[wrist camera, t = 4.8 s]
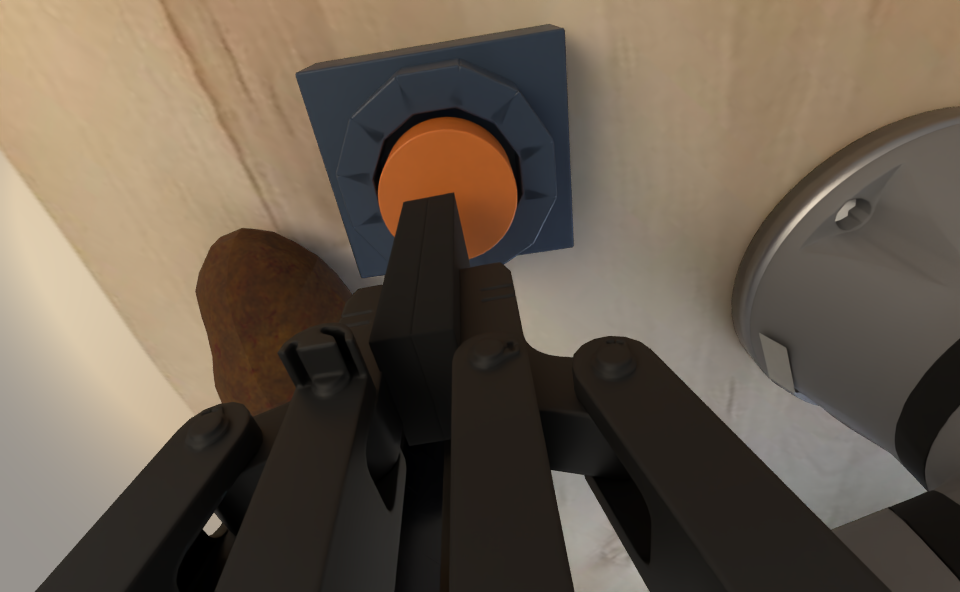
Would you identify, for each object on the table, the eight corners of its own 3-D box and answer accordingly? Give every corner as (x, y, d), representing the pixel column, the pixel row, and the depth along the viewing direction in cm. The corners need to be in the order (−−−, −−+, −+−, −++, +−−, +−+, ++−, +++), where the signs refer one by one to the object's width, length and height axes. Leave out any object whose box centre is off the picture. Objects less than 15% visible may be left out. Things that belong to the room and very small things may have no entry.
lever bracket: (549, 440, 30) (608, 726, 18) (452, 493, 32) (449, 774, 21) (446, 345, 25) (437, 640, 14) (342, 414, 28) (260, 714, 16)
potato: (322, 186, 21) (267, 264, 15) (420, 359, 26) (410, 466, 20) (185, 240, 22) (83, 332, 16) (307, 395, 27) (265, 507, 21)
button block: (551, 23, 18) (577, 31, 14) (562, 221, 22) (583, 268, 18) (314, 63, 18) (276, 81, 14) (370, 250, 22) (353, 302, 18)
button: (504, 106, 15) (509, 118, 14) (518, 230, 18) (524, 252, 16) (370, 128, 15) (360, 141, 14) (401, 248, 18) (396, 271, 16)
